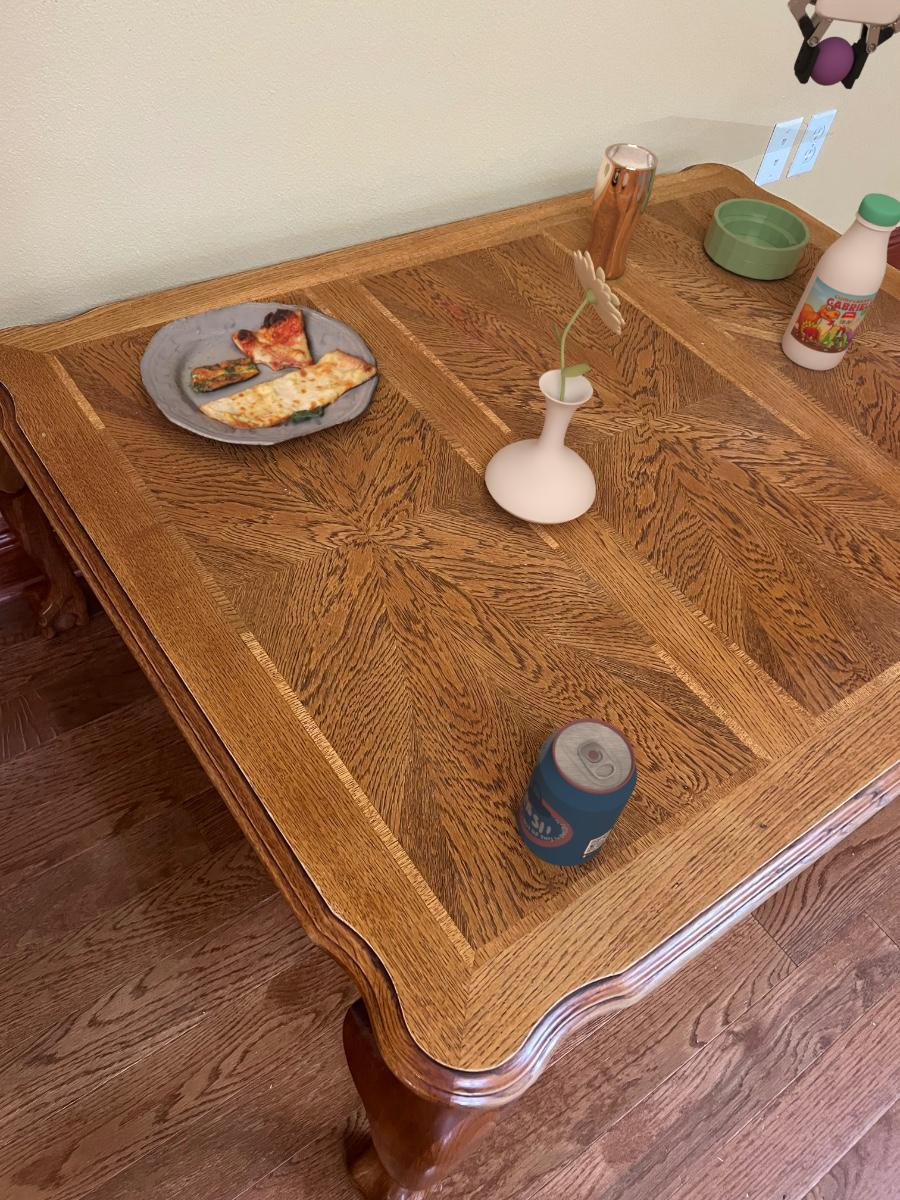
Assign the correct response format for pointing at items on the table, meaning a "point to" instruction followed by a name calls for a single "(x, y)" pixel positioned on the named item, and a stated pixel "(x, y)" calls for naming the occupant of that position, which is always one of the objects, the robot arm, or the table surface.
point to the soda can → (576, 791)
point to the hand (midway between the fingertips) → (822, 80)
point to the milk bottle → (842, 287)
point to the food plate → (259, 372)
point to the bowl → (756, 238)
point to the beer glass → (619, 205)
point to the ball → (832, 61)
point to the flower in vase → (555, 430)
